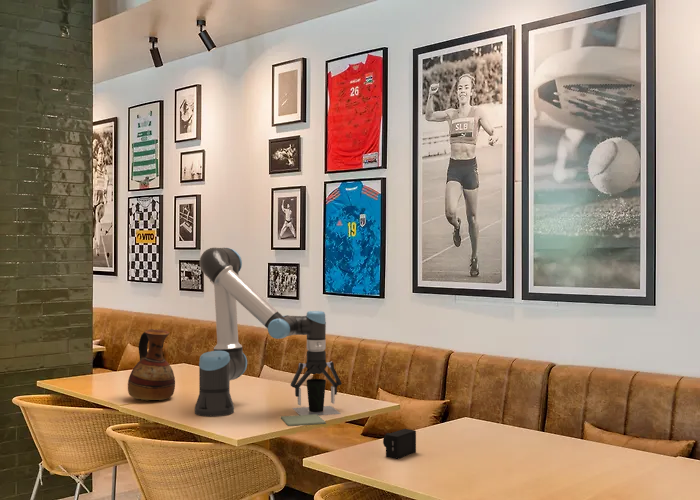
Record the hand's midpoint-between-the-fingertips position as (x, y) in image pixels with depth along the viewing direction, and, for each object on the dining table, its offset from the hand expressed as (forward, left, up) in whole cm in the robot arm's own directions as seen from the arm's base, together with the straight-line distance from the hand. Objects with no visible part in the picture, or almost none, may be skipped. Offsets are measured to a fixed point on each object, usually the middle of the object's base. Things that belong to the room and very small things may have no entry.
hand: (316, 404), depth 297 cm
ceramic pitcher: (-62, +43, -3) cm, 76 cm away
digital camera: (+9, -70, -3) cm, 71 cm away
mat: (-9, -16, -3) cm, 19 cm away
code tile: (0, 0, -3) cm, 3 cm away
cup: (0, 0, -3) cm, 3 cm away
